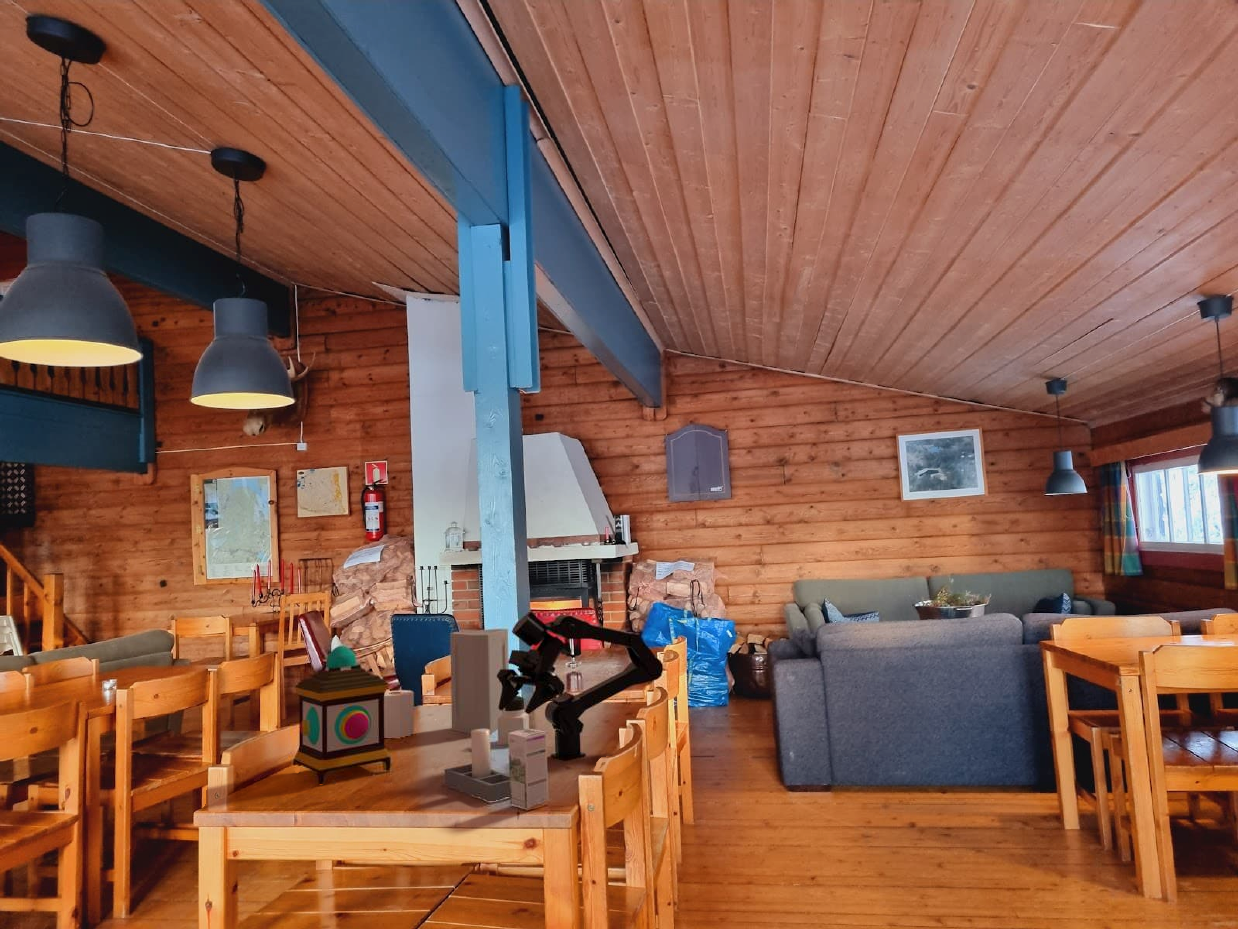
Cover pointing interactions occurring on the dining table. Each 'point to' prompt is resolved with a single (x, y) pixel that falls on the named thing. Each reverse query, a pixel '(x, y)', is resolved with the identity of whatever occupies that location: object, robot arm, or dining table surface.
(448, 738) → the dining table surface
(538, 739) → the syrup box
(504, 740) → the medicine bottle
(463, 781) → the caddy
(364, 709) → the decorative lantern
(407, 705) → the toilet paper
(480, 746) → the beige tapered cylinder
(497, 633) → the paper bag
